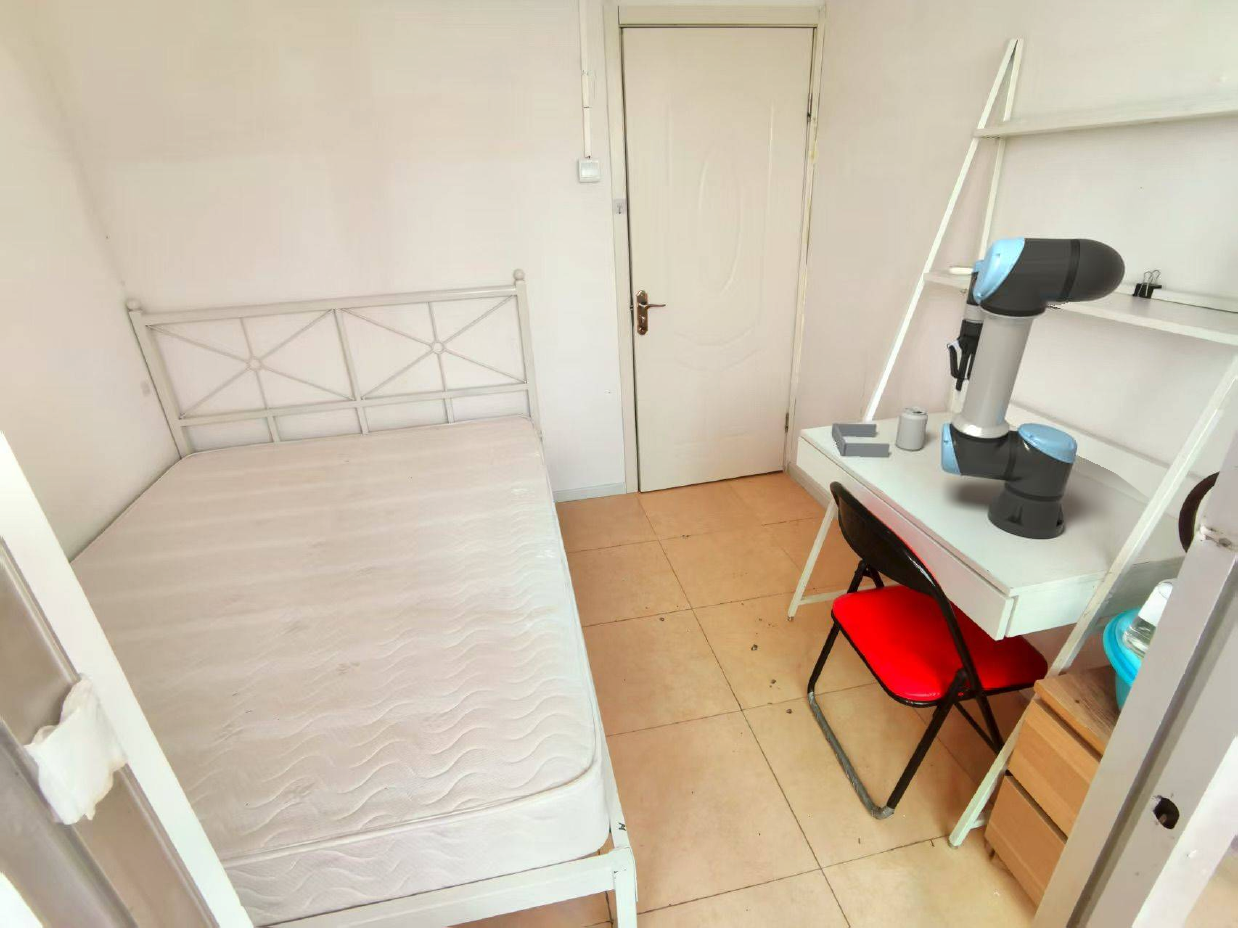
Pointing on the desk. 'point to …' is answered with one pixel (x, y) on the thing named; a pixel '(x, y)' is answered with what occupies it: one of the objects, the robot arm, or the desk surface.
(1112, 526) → the desk surface
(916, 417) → the can
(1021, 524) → the robot arm
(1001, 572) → the desk surface
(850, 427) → the box
